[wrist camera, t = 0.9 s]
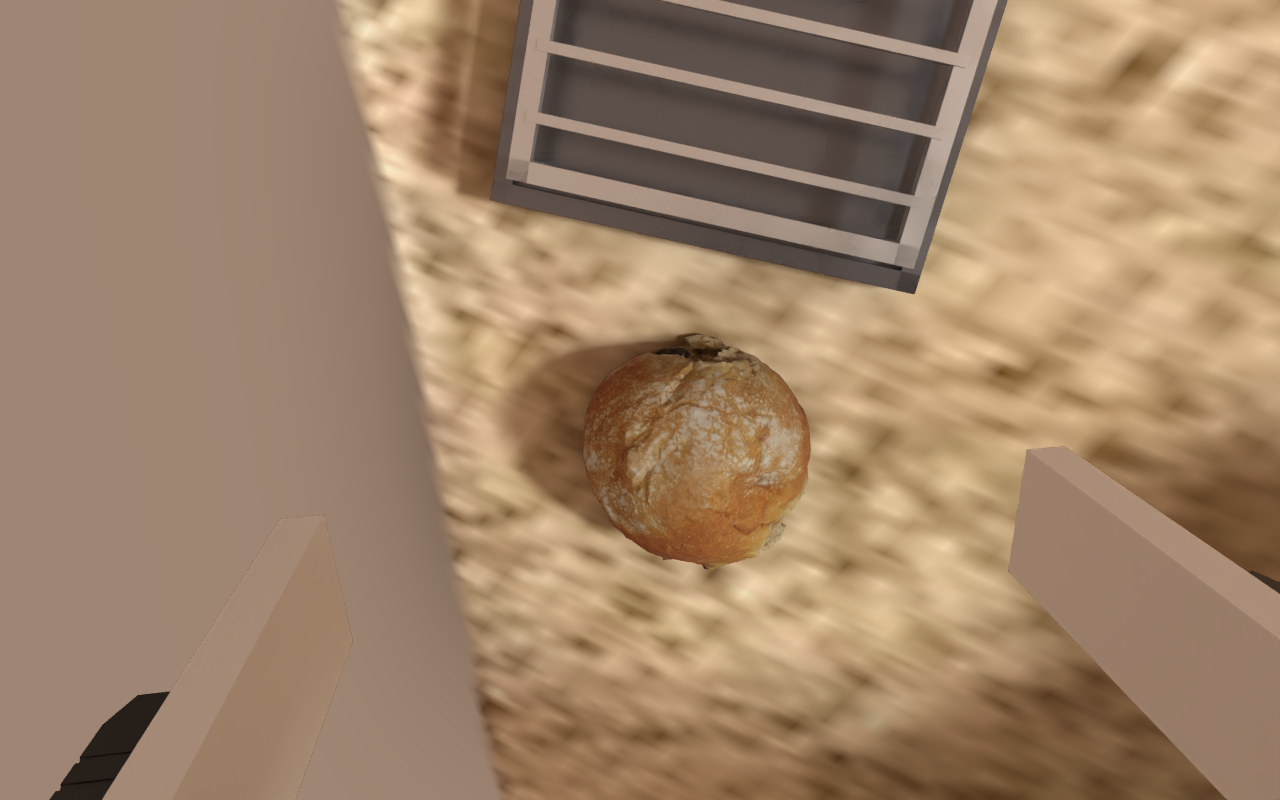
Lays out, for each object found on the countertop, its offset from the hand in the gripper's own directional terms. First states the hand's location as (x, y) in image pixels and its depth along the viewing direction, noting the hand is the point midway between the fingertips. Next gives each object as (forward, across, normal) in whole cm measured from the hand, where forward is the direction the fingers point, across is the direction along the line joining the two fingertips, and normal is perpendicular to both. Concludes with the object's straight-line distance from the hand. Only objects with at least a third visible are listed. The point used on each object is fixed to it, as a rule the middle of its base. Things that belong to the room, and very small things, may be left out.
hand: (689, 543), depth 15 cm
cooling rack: (+22, -7, -12) cm, 26 cm away
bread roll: (+20, -4, +8) cm, 22 cm away
